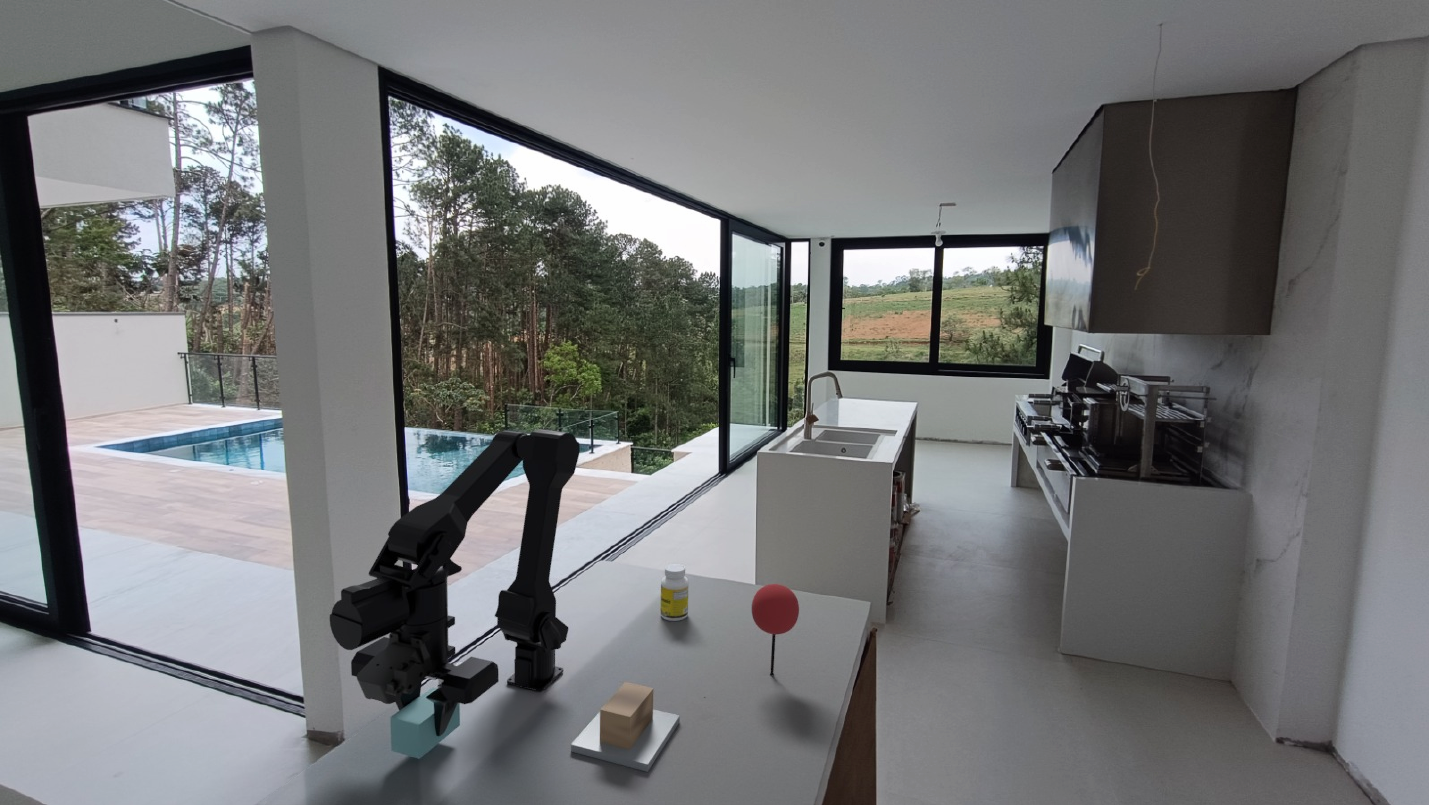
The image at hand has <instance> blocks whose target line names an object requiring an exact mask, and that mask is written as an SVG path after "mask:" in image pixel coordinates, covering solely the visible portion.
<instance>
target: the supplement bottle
mask: <svg viewBox="0 0 1429 805" xmlns="http://www.w3.org/2000/svg"><path fill="white" fill-rule="evenodd" d="M659 611H660V616H661V617H662V619H664V620H665V621H670V622H678V621H683V620H684V619H686V618H687V617H688V614H689V579H688V578H687V577H686V567H685V565H682V564H678V563H677V564H676V563H673V564H668V565H666V566H665V567H664V577H662V579H661V583H660V610H659Z"/></svg>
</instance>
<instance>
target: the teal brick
mask: <svg viewBox="0 0 1429 805" xmlns="http://www.w3.org/2000/svg"><path fill="white" fill-rule="evenodd" d="M436 689H438V687H434V686H432V687H431V688H429V689H428V690H427V691H425V692H424V693H422V694H420V697H418V698H417V699H415V700H414V701H412V702H411V703H410V704H408V705H407V706H405V707H404V708H403V709H401V710H400V711H399V710H398V711H397V712H395V713H393V714H392V716H390V717H389V718H390V746H391V747H390V749H391V751H392V752H393V753H399V754H401V755H405V756H408V757H412V758H414V759H418V760H420V759H422V757H424V756H425V755H426V754H427V753H429V752H430V751H431V750H432V749H434V748H435V747H436V746H437V745H438V744H439V743H441V742H443V740H444V739H446V737H448V736H449V735H450V734H452V733H453V732H454V731H455V730H456V729H457V728H458V727H460V726H461V718H460V717H461V714H460V713H461V712H460V710H461V708H460V707H461V706H460V705H461V703H458V704H457V706H456V708H455V710H454V713H453V715H452V717H451V719H450V721H449V724H448V726H447V728H446V730H445V732H444V733H443V734H442V735H441V736H437V735H436V730H435V719H434V703H433V702H432V701H430V700H428V699H427V698H426V696H428V695H429V694H431V693H432V692H433V691H435V690H436Z"/></svg>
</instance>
